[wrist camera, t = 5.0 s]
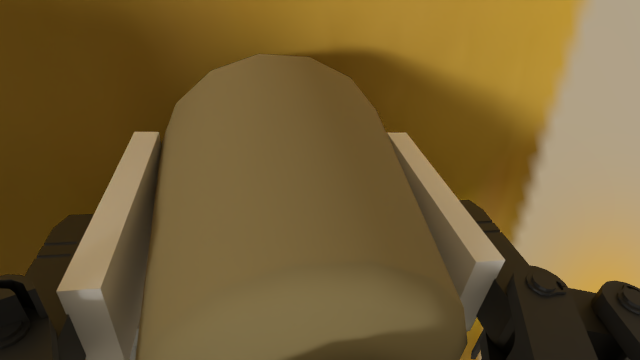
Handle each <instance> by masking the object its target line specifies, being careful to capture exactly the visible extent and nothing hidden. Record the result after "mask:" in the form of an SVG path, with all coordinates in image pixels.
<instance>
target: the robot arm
mask: <svg viewBox="0 0 640 360" xmlns="http://www.w3.org/2000/svg"><path fill="white" fill-rule="evenodd" d="M387 136H388V138H389V140H390V142H391V145H392V147H393V149H394V151H395V154H396V156H397V158H398V160H399V163H400V165H401V167H402V169H403V172H404V174H405V176H406V178H407V181H408V183H409V185H410V187H411V190H412V192H413V194H414V196H415V199H416V201H417V203H418V205H419V208H420V210H421V212H422V214H423V217H424V219H425V221H426V223H427V226H428V228H429V230H430V232H431V235H432V237H433V239H434V241H435V244H436V246H437V248H438V250H439V253H440V255H441V257H442V259H443V262H444V264H445V266H446V268H447V271H448V273H449V275H450V277H451V280H452V282H453V284H454V286H455V289H456V291H457V293H458V295H459V298H460V300H461V302H462V304H463V307H464V313H465V323H466V331H470V329H471V327H472V325H473V323H474V321H475V319H476V317H477V318H478V320H479V321H480V323H481V325H482V326H483V328H484V329H483V331H482V333H481V335H480V337H479V339H478V341H477V343H476V344H475V346H474V348H473V350H472V353H471V359H476V357H477V355H478V353H479V352H480V350H481V356H482V359H481V360H640V289H639V288H637V287H635V286H632V285H630V284H627V283H624V282H619V281H609V282H606V283H605V284H604V285H603V286H602V287H601V288H600V290H599V291H598V292H597V293H592V292H587V291H582V290H576V289H571V288H568V287H567V286H566V284H565V283H564V282H563V281H562V280H561V279H560V278H558V277H557V276H556V275H554V274H552V273H551V272H549V271H547V270H545V269H542V268H539V267H536V266H529V264H528V263H527V262H526V261H525V260H524V258H523V257H522V256H521V255H520V254H519V252H518V251H517V250H516V249H515V248H514V246H513V245H512V244H511V243H510V242H509V240H508V239H507V238H506V237H505V236H504V234H503V233H502V232H501V233H500V230H499V228H498V227H497V226H496V225H495V224H494V223H492V220H491V219H490V218H489V216H488V215H487V214H486V213H485V212H484V210H483V209H481V208H480V207H478V206H477V205H475V204H474V203H473V202H471V201H470V200H458V199H457V197H456V196H455V195H454V193H453V192H452V191H451V190H450V188H449V187H448V186H447V184H446V183H445V182H444V181H443V179H442V178H441V177H440V175H439V174H438V173H437V172H436V170H435V169H434V168H433V166H432V165H431V164H430V163H429V161H428V160H427V159H426V157H425V156H424V155H423V154H422V152H421V151H420V150H419V148H418V147H417V146H416V145H415V143H414V142H413V141H412V139H411V138H410V137H409V136H408V134H407V133H390V132H387ZM160 151H161V141H160V134H159V132H134V134H133V136H132V138H131V140H130V142H129V144H128V146H127V148H126V150H125V152H124V154H123V156H122V158H121V160H120V162H119V164H118V166H117V168H116V171H115V173H114V175H113V177H112V179H111V181H110V183H109V185H108V187H107V189H106V191H105V193H104V195H103V197H102V199H101V201H100V203H99V205H98V207H97V209H96V211H95V213H94V214H83V215H69V216H68V217H67V218H65V219H64V220H63V221H62V222H60V223H59V224H58V225H57V226H55V227H54V228H53V230H52V231H51V233H50V235H49V236H48V238H47V240H46V241H45V243H44V246H42V248H41V250H40V251H39V253H38V255H37V259H35V260H34V261H33V263H32V265H31V266H30V268H29V270H28V271H27V273H26V275H25V276H22V275H9V274H7V275H2V276H0V360H85V359H86V360H129V359H130V355H131V351H132V347H133V343H134V339H135V335H136V331H137V327H138V323H139V319H140V315H141V308H142V299H143V291H144V283H145V275H146V266H147V258H148V250H149V242H150V233H151V225H152V217H153V209H154V200H155V192H156V184H157V176H158V167H159V159H160Z"/></svg>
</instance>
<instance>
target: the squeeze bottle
mask: <svg viewBox="0 0 640 360" xmlns="http://www.w3.org/2000/svg"><path fill="white" fill-rule="evenodd" d="M466 345H467V333H466V323H465V313H464V307H463V304H462V302H461V300H460V298H459V295H458V293H457V291H456V289H455V286H454V284H453V282H452V280H451V277H450V275H449V273H448V271H447V268H446V266H445V264H444V262H443V259H442V257H441V255H440V253H439V250H438V248H437V246H436V244H435V241H434V239H433V237H432V235H431V232H430V230H429V228H428V226H427V223H426V221H425V219H424V217H423V214H422V212H421V210H420V208H419V205H418V203H417V201H416V199H415V196H414V194H413V192H412V190H411V187H410V185H409V183H408V181H407V178H406V176H405V174H404V172H403V169H402V167H401V165H400V163H399V160H398V158H397V156H396V154H395V151H394V149H393V147H392V145H391V142H390V140H389V138H388V136H387V133H386V131H385V129H384V127H383V124H382V122H381V120H380V118H379V115H378V113H377V111H376V109H375V108H374V107H373V105H372V104H371V103H370V102H369V100H368V99H367V98H366V97H365V95H364V94H363V93H362V91H361V90H360V89H359V88H358V86H357V85H356V84H355V83H354V81H353V80H352V79H351V78H350V77H348V76H346V75H344V74H342V73H340V72H338V71H336V70H334V69H332V68H330V67H328V66H326V65H324V64H322V63H320V62H318V61H316V60H314V59H312V58H310V57H303V56H287V55H270V54H257V55H254V56H251V57H248V58H245V59H243V60H240V61H237V62H234V63H231V64H228V65H226V66H223V67H220V68H217V69H214V70H211V71H210V72H209V73H208V74H207V75H206V76H204V77H203V78H202V79H201V80H200V81H199V82H198V83H197V84H196V85H195V86H194V87H193V88H192V89H191V90H190V91H189V92H188V93H187V94H185V95H184V96H183V97H182V98H181V99H180V100H179V101H178V102H177V103H176V105H175V108H174V110H173V113H172V116H171V119H170V121H169V124H168V127H167V130H166V132H165V135H164V138H163V140H162V143H161V151H160V159H159V167H158V176H157V184H156V192H155V200H154V209H153V217H152V225H151V233H150V242H149V250H148V258H147V266H146V275H145V283H144V291H143V299H142V308H141V316H140V324H139V332H138V341H137V349H136V357H135V360H459V359H460V357H461V355H462V353H463V351H464V349H465V347H466Z"/></svg>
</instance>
